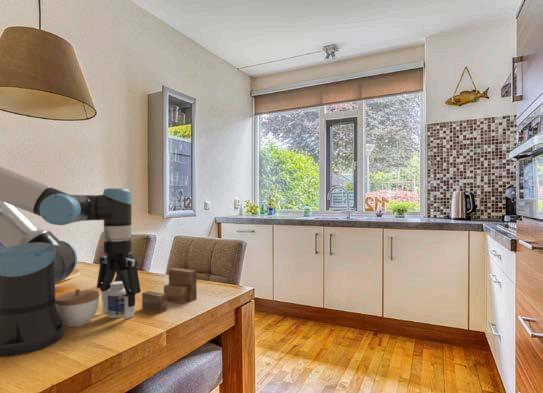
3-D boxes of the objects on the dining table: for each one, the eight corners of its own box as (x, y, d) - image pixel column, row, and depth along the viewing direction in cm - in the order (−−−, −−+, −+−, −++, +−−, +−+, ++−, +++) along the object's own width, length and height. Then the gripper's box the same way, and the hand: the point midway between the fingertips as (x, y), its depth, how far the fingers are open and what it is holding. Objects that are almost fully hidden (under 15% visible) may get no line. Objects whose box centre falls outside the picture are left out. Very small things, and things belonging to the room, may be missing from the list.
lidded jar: (104, 322, 89) (104, 289, 89) (59, 334, 82) (59, 297, 82) (92, 313, 97) (92, 282, 97) (50, 323, 89) (50, 289, 89)
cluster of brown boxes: (162, 313, 96) (162, 280, 96) (140, 308, 101) (140, 276, 101) (196, 299, 110) (196, 270, 110) (175, 295, 114) (174, 267, 114)
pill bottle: (119, 319, 92) (119, 285, 92) (103, 317, 93) (103, 284, 93) (131, 312, 97) (131, 280, 97) (116, 311, 98) (115, 280, 98)
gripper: (153, 240, 93) (154, 316, 93) (105, 236, 103) (106, 305, 103) (132, 243, 87) (132, 325, 86) (83, 239, 97) (83, 312, 97)
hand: (118, 314), depth 95 cm, fingers open, 9 cm apart
